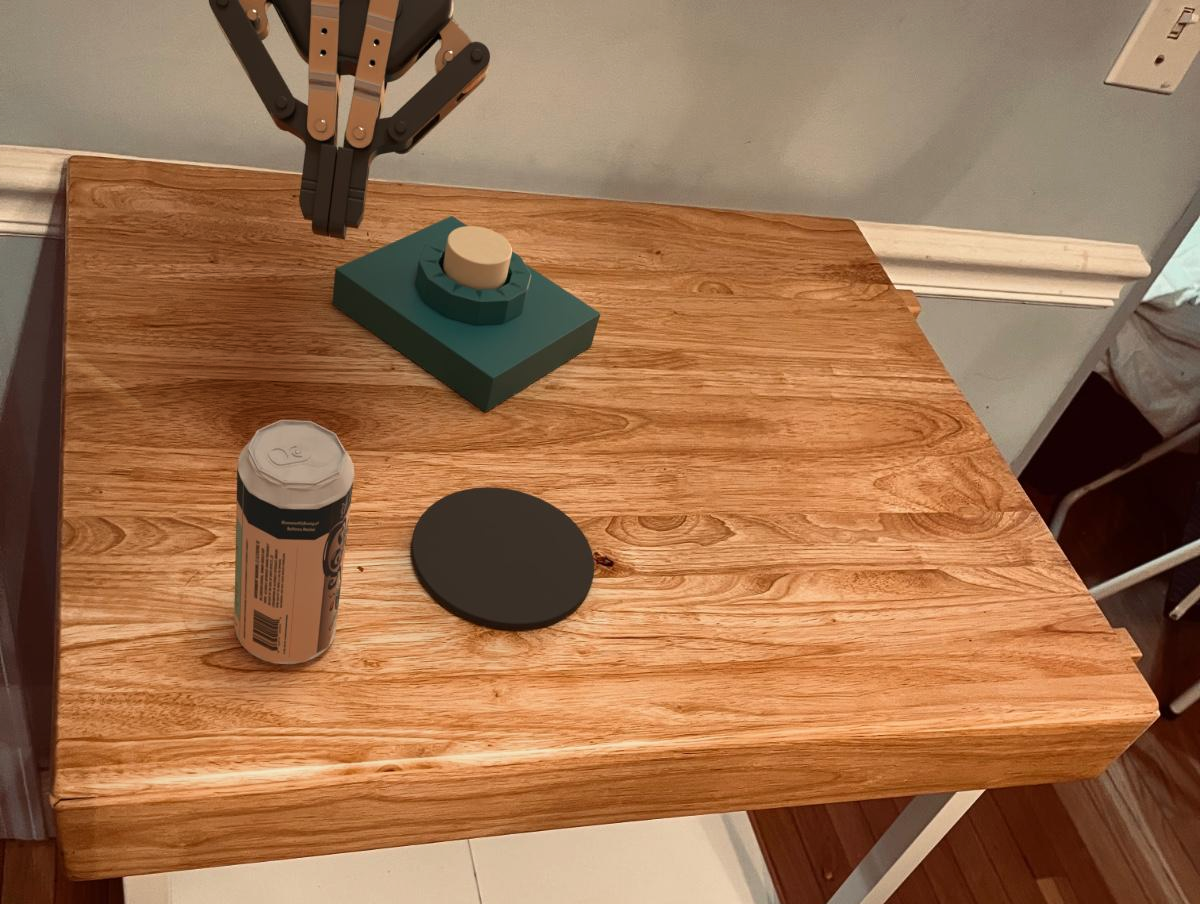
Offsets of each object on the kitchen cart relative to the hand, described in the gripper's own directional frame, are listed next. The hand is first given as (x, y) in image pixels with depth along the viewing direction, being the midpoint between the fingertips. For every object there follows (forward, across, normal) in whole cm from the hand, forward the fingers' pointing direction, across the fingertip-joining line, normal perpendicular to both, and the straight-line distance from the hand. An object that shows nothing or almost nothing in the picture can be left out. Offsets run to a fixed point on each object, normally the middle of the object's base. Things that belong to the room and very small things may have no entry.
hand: (329, 234), depth 55 cm
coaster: (+14, +11, +7) cm, 19 cm away
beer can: (+19, 0, +2) cm, 19 cm away
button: (-2, +8, +19) cm, 21 cm away
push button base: (+1, +8, +22) cm, 23 cm away
